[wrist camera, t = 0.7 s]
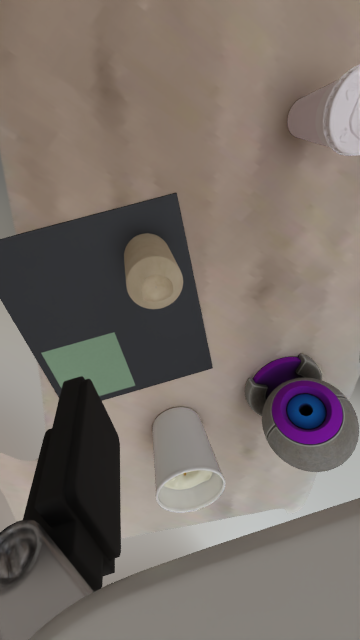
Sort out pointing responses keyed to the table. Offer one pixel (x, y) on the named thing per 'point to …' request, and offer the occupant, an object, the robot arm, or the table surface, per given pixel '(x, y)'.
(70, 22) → the table surface
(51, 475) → the robot arm
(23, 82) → the table surface
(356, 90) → the smoothie
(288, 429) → the webcam
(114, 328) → the desk pad
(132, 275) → the candle
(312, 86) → the table surface
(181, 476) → the candle holder
